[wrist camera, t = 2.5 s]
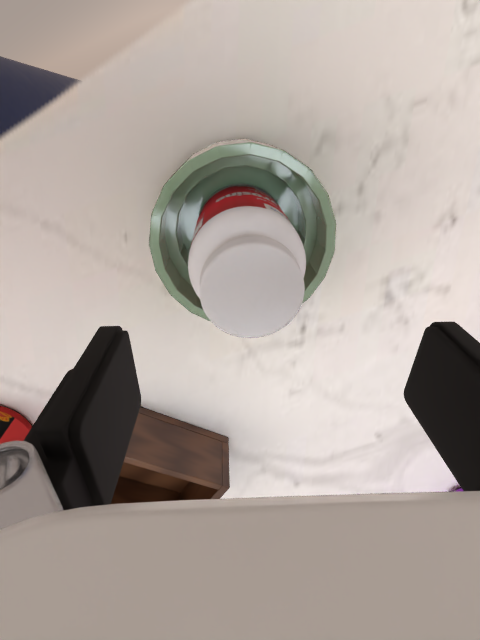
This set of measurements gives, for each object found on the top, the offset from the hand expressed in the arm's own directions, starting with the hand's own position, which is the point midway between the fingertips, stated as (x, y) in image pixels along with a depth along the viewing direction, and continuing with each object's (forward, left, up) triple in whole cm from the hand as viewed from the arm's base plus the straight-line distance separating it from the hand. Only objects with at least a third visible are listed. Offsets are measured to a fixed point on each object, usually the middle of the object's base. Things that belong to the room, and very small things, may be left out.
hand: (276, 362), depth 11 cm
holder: (+5, -26, -16) cm, 31 cm away
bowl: (0, 0, -16) cm, 16 cm away
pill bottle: (0, 0, -16) cm, 16 cm away
